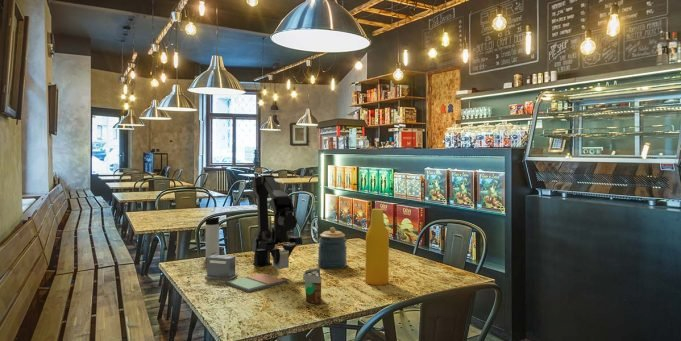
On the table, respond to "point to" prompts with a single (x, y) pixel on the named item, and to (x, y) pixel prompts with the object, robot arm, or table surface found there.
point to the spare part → (282, 259)
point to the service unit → (221, 267)
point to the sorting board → (255, 282)
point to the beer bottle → (377, 250)
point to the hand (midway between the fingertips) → (280, 263)
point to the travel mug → (212, 236)
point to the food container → (313, 286)
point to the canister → (332, 250)
